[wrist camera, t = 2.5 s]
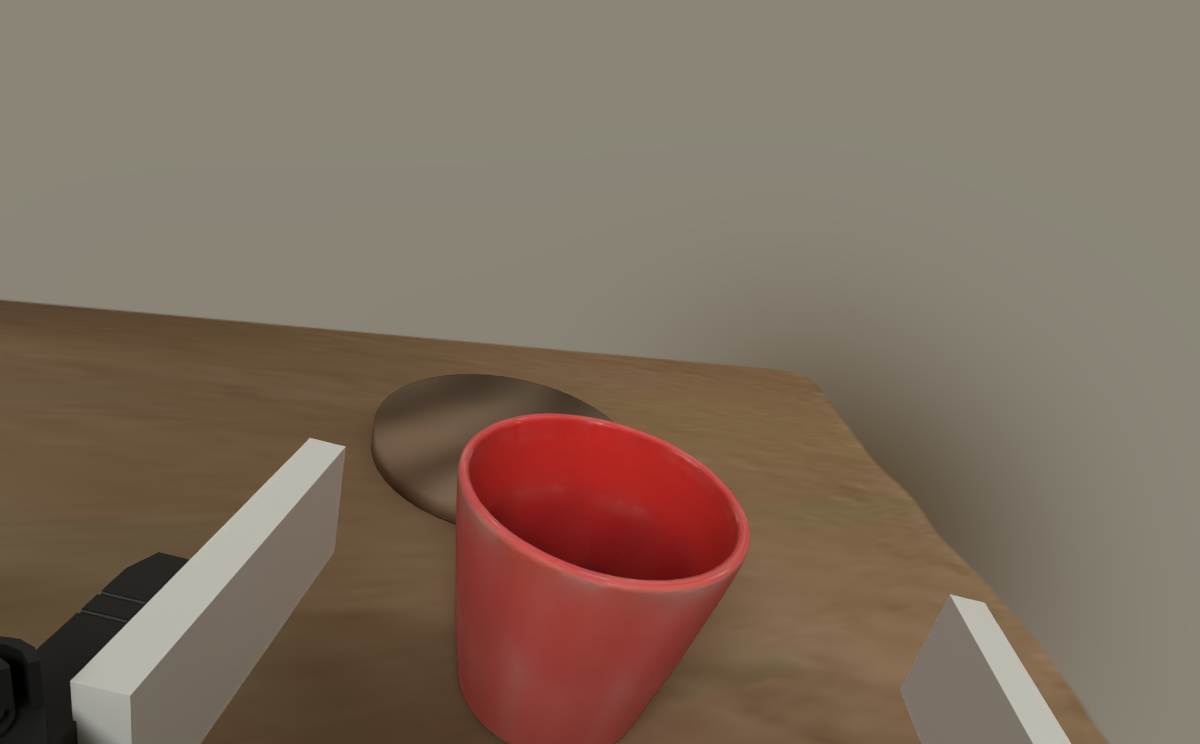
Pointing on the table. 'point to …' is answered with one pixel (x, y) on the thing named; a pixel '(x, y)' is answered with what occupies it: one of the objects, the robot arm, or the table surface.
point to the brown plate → (451, 430)
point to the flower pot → (582, 573)
